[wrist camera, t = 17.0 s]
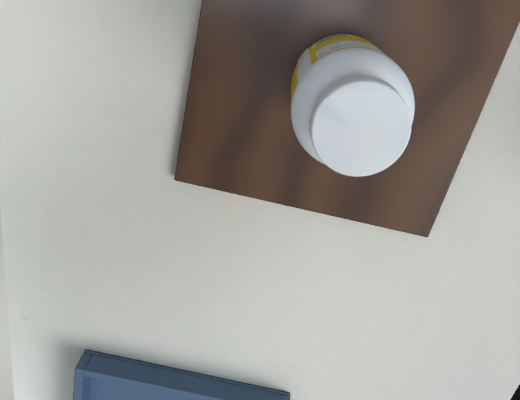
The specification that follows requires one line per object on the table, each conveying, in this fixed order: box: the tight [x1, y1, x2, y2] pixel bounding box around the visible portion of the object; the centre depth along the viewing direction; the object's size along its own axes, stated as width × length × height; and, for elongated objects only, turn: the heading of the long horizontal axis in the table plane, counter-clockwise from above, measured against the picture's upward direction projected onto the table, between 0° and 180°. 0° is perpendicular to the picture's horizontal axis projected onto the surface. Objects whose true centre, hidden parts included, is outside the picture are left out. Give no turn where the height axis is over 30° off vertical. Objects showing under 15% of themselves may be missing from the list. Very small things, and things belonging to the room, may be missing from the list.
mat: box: [174, 0, 520, 237], centre depth 33 cm, size 20×20×1 cm
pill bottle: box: [291, 33, 415, 177], centre depth 28 cm, size 6×6×12 cm
